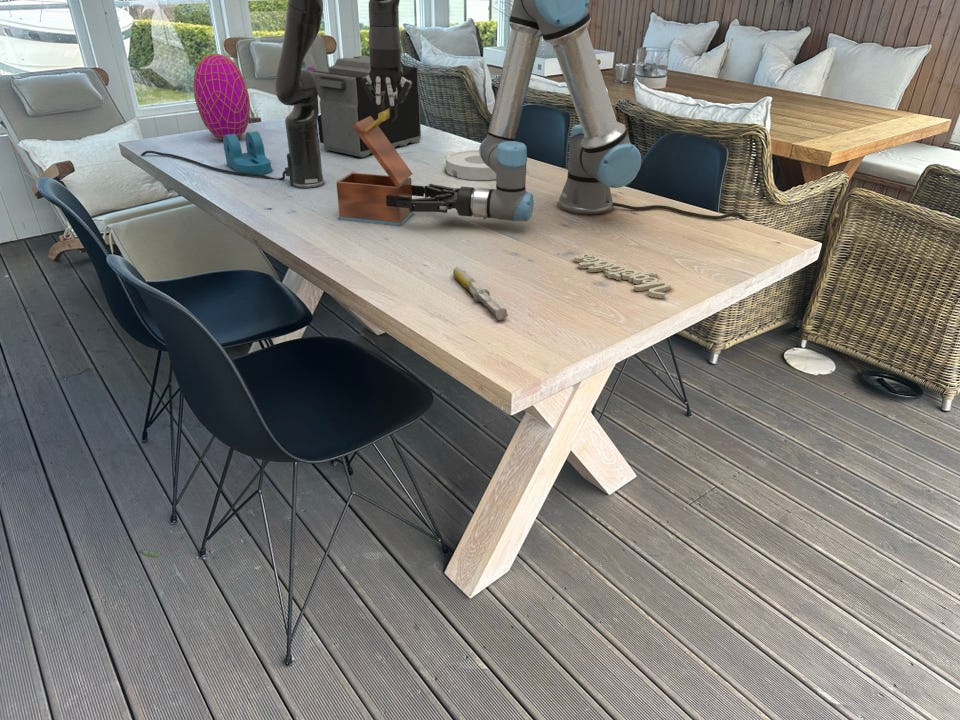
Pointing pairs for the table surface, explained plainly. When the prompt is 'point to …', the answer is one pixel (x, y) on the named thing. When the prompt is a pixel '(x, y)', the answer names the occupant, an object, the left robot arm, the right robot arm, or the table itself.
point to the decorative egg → (221, 96)
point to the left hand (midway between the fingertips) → (387, 120)
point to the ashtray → (468, 166)
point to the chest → (371, 198)
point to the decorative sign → (625, 274)
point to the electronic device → (362, 107)
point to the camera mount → (246, 154)
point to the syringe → (479, 293)
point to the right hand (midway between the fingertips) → (394, 194)
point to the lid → (382, 147)
